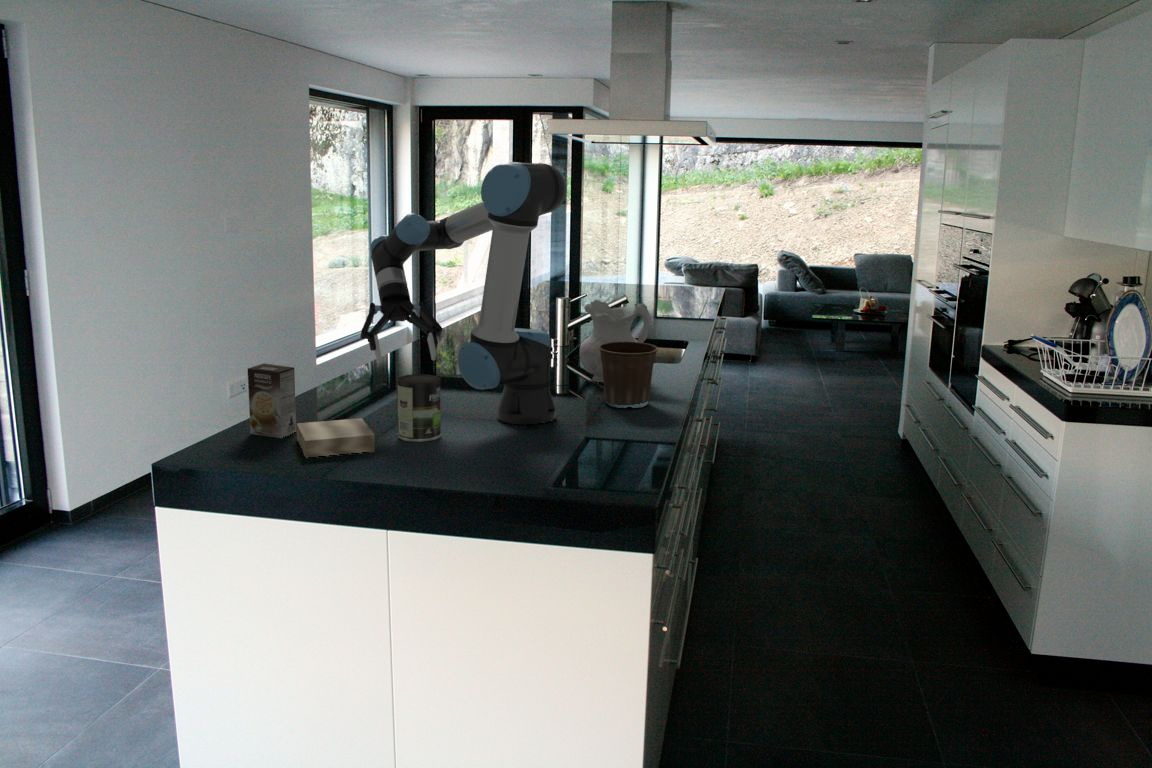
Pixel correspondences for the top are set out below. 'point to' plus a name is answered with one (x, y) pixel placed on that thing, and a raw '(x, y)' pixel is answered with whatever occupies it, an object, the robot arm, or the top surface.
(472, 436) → the top surface
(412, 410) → the coffee can
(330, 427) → the oak base block
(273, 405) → the coffee box
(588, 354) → the ceramic pitcher
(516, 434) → the top surface
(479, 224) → the robot arm
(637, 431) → the top surface
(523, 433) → the top surface
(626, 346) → the plant pot
